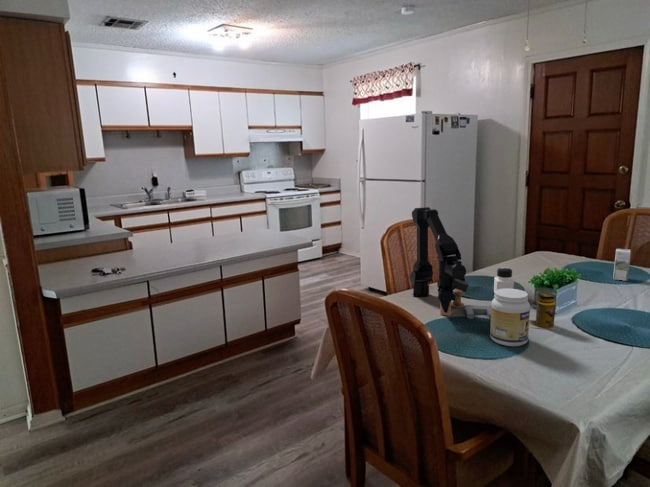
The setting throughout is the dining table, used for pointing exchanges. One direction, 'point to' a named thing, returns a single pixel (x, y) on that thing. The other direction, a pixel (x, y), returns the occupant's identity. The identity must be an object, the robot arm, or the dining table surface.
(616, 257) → the syrup box
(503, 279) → the medicine bottle
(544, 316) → the condiment
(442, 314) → the copper brown block
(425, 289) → the robot arm
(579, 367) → the dining table surface
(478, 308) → the notched board
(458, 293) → the door knob
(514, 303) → the supplement tub
